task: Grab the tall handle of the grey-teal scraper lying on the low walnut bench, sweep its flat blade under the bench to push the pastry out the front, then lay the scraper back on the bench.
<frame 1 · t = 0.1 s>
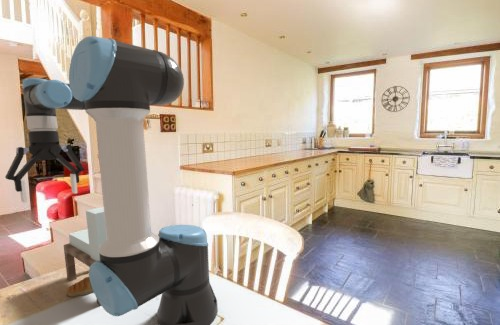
hand: (51, 197, 87), 28 cm above the table, tool pointing down, fingers open, 13 cm apart
pastry: (88, 290, 83), on the table
scraper: (109, 255, 79), point 12 cm above the table, touching bench
bench: (99, 284, 86), on the table
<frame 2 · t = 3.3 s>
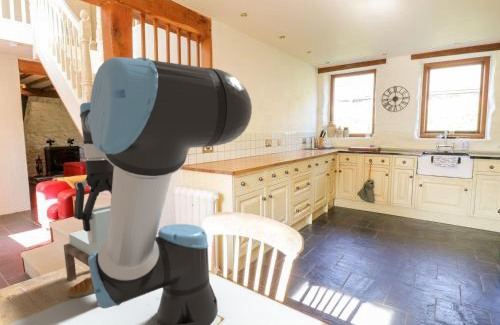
hand: (107, 236, 79), 18 cm above the table, tool pointing down, fingers closed on scraper, 8 cm apart
scraper: (109, 255, 79), point 12 cm above the table, touching bench, gripper
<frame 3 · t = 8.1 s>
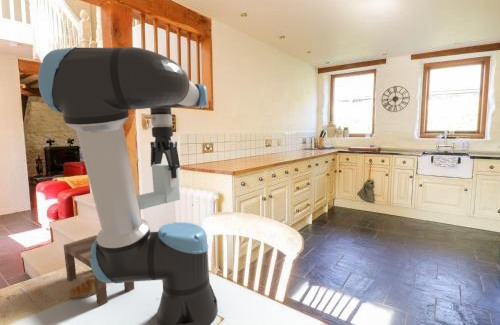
hand: (166, 185, 105), 27 cm above the table, tool pointing down, fingers closed on scraper, 8 cm apart
pastry: (91, 292, 83), on the table
scraper: (167, 200, 105), point 21 cm above the table, touching gripper
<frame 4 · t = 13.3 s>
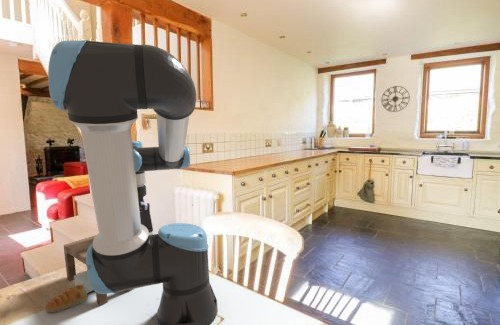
hand: (139, 248, 97), 7 cm above the table, tool pointing down, fingers closed on scraper, 8 cm apart
pastry: (70, 303, 77), on the table, touching scraper
scraper: (141, 263, 97), point 1 cm above the table, touching gripper, pastry
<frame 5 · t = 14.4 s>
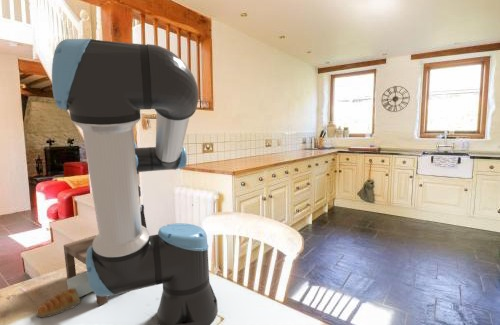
hand: (133, 250, 95), 7 cm above the table, tool pointing down, fingers closed on scraper, 8 cm apart
pastry: (61, 308, 75), on the table
scraper: (135, 265, 96), point 1 cm above the table, touching gripper
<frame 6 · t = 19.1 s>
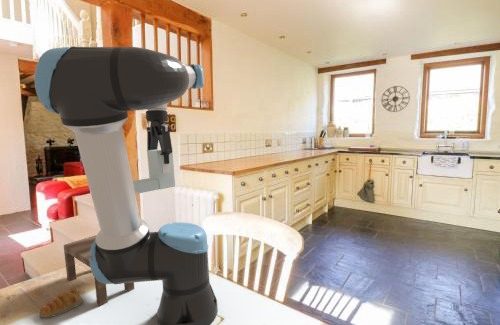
hand: (160, 171, 101), 33 cm above the table, tool pointing down, fingers closed on scraper, 8 cm apart
scraper: (162, 186, 102), point 27 cm above the table, touching gripper
when the fingers open (19 cm above the table, at t = 23.7 s): scraper drops 2 cm, resting on bench.
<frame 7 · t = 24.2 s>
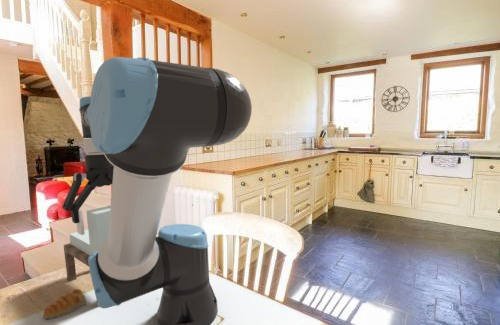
hand: (106, 226, 78), 21 cm above the table, tool pointing down, fingers open, 13 cm apart
pastry: (67, 309, 75), on the table
scraper: (110, 255, 79), point 12 cm above the table, touching bench
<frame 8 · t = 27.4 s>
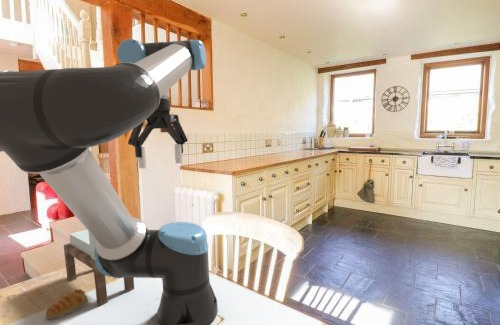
hand: (161, 165, 88), 37 cm above the table, tool pointing down, fingers open, 13 cm apart
at the end: pastry inside the target area (8.0 cm from its centre), on the table; pastry tilted 0°; the gripper is holding nothing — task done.
